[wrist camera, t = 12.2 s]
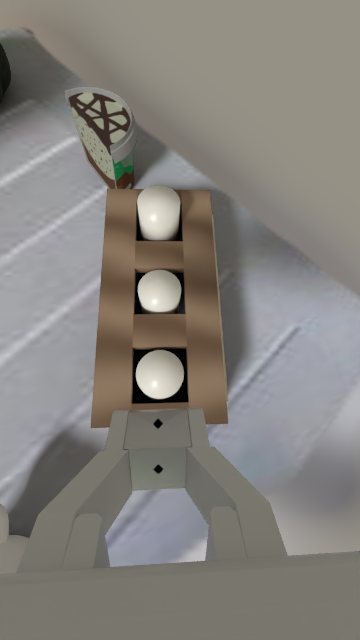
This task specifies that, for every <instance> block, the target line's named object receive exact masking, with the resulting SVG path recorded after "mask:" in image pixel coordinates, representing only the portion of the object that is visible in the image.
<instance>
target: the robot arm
mask: <svg viewBox="0 0 360 640" xmlns="http://www.w3.org/2000/svg"><path fill="white" fill-rule="evenodd" d="M167 488H186V491H187V493H188V494H189V496H190V497H191V499H192V500H193V502H194V503H195V505H196V506H197V508H198V510H199V511H200V513H201V514H202V516H203V517H204V519H205V520H206V522H207V523H208V525H209V530H208V539H207V550H206V559H205V561H197V562H181V563H165V564H150V565H134V566H119V567H110V562H109V556H108V551H107V545H106V539H105V535H106V533H107V532H108V530H109V528H110V527H111V525H112V524H113V522H114V520H115V519H116V517H117V516H118V514H119V513H120V511H121V509H122V508H123V506H124V505H125V503H126V501H127V500H128V498H129V497H130V495H131V494H132V491H135V490H148V489H167ZM0 640H360V551H355V552H339V553H324V554H308V555H292V556H288V555H287V552H286V549H285V547H284V544H283V541H282V538H281V535H280V532H279V529H278V526H277V523H276V520H275V517H274V514H273V511H272V508H271V505H270V503H269V502H268V501H267V500H266V499H265V498H264V497H263V496H262V495H261V494H260V493H259V492H258V490H257V489H256V488H255V487H254V486H253V485H252V484H251V483H250V482H249V481H248V480H247V479H246V478H245V477H244V476H243V475H242V474H241V473H240V472H239V471H238V470H237V469H236V468H235V467H234V466H233V465H232V464H231V463H230V462H229V461H228V460H227V459H226V458H225V457H224V456H223V455H222V454H221V453H220V452H219V451H218V450H217V449H216V448H215V447H210V445H209V440H208V435H207V429H206V424H205V418H204V413H203V409H202V408H183V409H158V410H114V412H113V414H112V419H111V423H110V428H109V433H108V437H107V442H106V446H105V451H100V452H99V453H98V454H97V455H96V456H95V457H94V458H93V459H92V460H91V461H90V462H89V463H88V464H87V465H86V466H85V467H84V468H83V469H82V470H81V471H80V472H79V473H78V474H77V475H76V476H75V477H74V478H73V479H72V480H71V481H70V482H69V483H68V484H67V485H66V486H65V487H64V489H63V490H62V491H61V492H60V493H59V494H58V495H57V496H56V497H55V498H54V499H53V500H52V501H51V502H50V503H49V504H48V505H47V506H46V507H45V508H44V509H43V510H42V511H41V512H40V513H39V514H38V517H37V519H36V522H35V525H34V527H33V530H32V532H31V535H30V538H29V540H28V543H27V546H26V548H25V551H24V554H23V556H22V559H21V562H20V564H19V567H18V570H17V572H16V573H9V574H0Z"/></svg>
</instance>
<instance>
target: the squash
mask: <svg viewBox="0 0 360 640" xmlns="http://www.w3.org/2000/svg"><path fill="white" fill-rule="evenodd" d="M10 81H11V71H10V66H9V62H8V59H7V56H6V53H5V51H4V49H3V47H2V45H1V44H0V102H1V101H2V98H3V92H5V91H6V90H7V88H8V87H9V84H10Z"/></svg>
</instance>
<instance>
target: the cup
mask: <svg viewBox="0 0 360 640" xmlns="http://www.w3.org/2000/svg"><path fill="white" fill-rule="evenodd" d="M28 540H29V538H27V537H25V536H20V535H9V518H8V513H7V510H6V508H5V507H4V506H3V505H2V504H0V574H9V573H16V572H17V570H18V567H19V564H20V562H21V559H22V556H23V554H24V551H25V548H26V546H27V543H28Z"/></svg>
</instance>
